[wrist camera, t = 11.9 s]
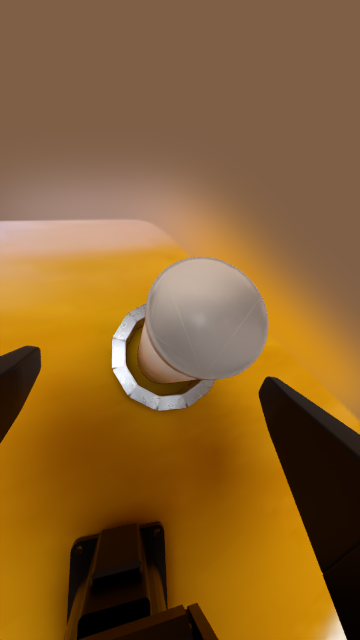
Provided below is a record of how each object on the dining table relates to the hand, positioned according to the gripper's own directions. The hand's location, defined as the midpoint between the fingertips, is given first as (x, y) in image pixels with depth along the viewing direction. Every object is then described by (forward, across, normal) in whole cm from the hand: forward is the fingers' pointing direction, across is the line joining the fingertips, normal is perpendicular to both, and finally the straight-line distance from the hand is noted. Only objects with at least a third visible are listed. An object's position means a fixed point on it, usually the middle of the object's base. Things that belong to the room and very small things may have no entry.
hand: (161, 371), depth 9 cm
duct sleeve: (+10, -2, +6) cm, 12 cm away
